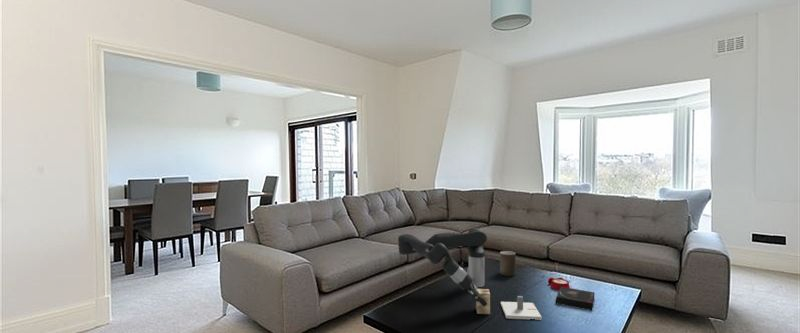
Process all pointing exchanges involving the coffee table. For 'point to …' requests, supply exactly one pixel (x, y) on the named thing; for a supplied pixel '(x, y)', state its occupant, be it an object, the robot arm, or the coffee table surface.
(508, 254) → the pillar candle
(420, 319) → the coffee table surface
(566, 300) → the portable cd player
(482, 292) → the beige wooden tall block
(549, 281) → the alarm clock
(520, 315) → the plate
